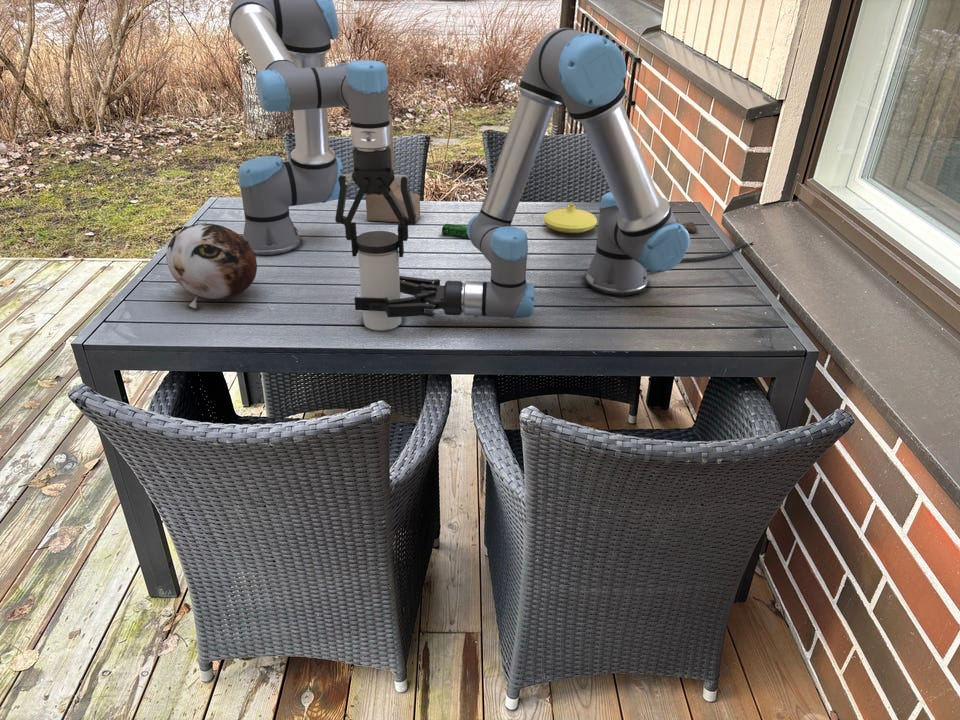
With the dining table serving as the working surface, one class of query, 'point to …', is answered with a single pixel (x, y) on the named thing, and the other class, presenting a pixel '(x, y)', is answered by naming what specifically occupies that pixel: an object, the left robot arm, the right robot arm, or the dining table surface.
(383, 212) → the decorative block
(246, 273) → the cat face balloon
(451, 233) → the handgun
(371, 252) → the lid
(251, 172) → the left robot arm
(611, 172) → the right robot arm
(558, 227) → the yellow knobbed pot cover
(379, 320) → the jar
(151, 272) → the dining table surface
